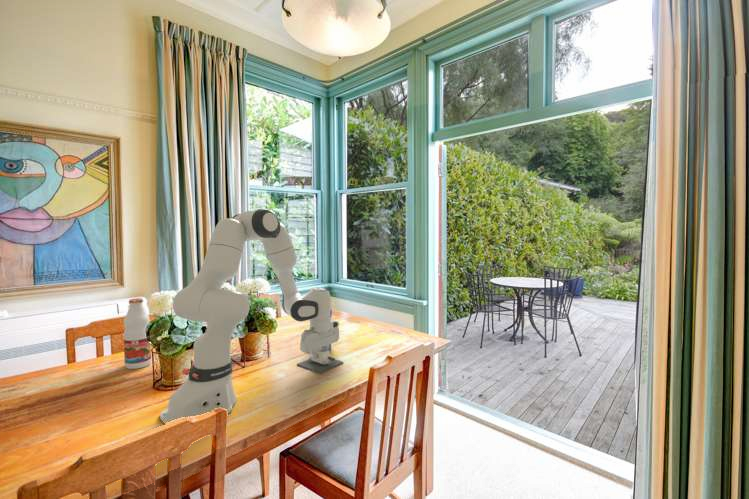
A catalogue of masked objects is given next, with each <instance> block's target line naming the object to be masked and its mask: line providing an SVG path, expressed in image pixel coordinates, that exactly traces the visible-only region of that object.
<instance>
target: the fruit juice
mask: <svg viewBox="0 0 749 499" xmlns="http://www.w3.org/2000/svg"><path fill="white" fill-rule="evenodd" d="M143 304H144V299H143V298H139V297H138V298H132V299H129V300H128V305H129V306H128V309H127V313H126V314H125V316H124V318H123V327H124V332H123V352H124V367H125V369H128V370H137V369H141V368H145V367H148V366H150V365H151V363H152V344H151V345H150V344H149V343H147V342H146V335H145V328H146V326H147V325H148V324H150V315H149V314H148V313H147V311H146V310H145V306H143Z"/></svg>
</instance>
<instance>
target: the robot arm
mask: <svg viewBox="0 0 749 499" xmlns="http://www.w3.org/2000/svg"><path fill="white" fill-rule="evenodd" d="M258 240H259V242H261V244H262V245H263V248H264V252H265V255H266V258H267V260H268V262H269V264H270V266H271V268H272V269H273V271H274V274H275V275H276V276H277V281H278V283H279V287H280V290H281V292H282V300H281V304H282V305H281V306H282V310H283V312H284V313H286V314H287V315H288V316H289V317H291V318H292V319H294V320H295V321H297V322H305V321H309V328H308V329H305V330H304V331H303V332H302V333H301V337H300V345H299V347H300V348H299V350H300V351H301V353H304V354H305V353H306V354H308V352H311V353H312V354H313V359H318V354H316V352H317V349H319V348H321V347H324V346H325V347H324V349H329V344H331V345H332V344H334V343H337V342H338V341H339V339H340V328H339V327H340V326H339V325H340V322H339V321H337V320H333V319H332V317H331V316H330V310H331V309H332V300H331V293H330V291H329V290H328V289H326V288H324V287H312V288H311V289H310V290H309V291H307V292H306V293H304V294H302V293H300V291H299V290H298V288H297V285H296V281H295V278H294V275H293V270H294V268H295V265H296V263H297V253H296V250H295V247H294V244H293V241H292V239H291V237H290V234H289V232H288V230H287V228H286V227H285V225H284V224H282V223H281V222H280V219H279V217H278V215H277V214H276V212H274V211H273V210H271V209H268V208H258V209H253V210H247V211H243V212H241V213H237V214H236V215H234V216H233V217H231V218H223V219H221V220H219V221H218V222H217V224H216V225H215V227H214V229H213V232H212V235H211V237H210V240H209V243H208V246H207V250H206V252H205V257H204V260H203V263H202V265H201V268H200V270H199V271H198V273H197V274H196V276H195V277H194V279H193V280H192V281H191V282H190V283H189V284H188V285H186V286H185V287H184V288H182V289H181V290H179V291H178V292H177V293H176V294H175V295H174V297H173V300H172V310H173V312H174V314H175V315H176V316H177V317H179V318H181V319H185V320H188V321H190V322H191V321H192V322H202V323H206V331H205V332H204V333H202V334H200V335H199V336H198V337H197V338H196V339H195V341H194V343H193V365H192V367H191V369H190V368H188V367H187V366H185V367H184V368H182V370H181V373H182V374H183V375H185V376H188V378H187V379H186V380H185V381H184V382H183V383H182V384H181V385H180V386H179V387H178V388H177V389H176V390H175V391H173V393H172V394H171V395H170V396H169V399H168V406H167V408H165V409H163V410H162V411H160V414H159V416H160V417H159V418H160V421H161V420H162V421H164V422H165V423H166V422H170V421H172V420H175V419H178V418H181V417H188V416H189V417H190V416H196V415H201V414H204V413H207V412H211V411H212V410H214V409H215V408H219V407H221V408H225V409H227V411H228V413H227V414H230V413H231V412H232V411H233V406H234V405H235V404H236V403H237V396H236V394H235V390H234V386H233V377H232V375H233V360H232V359H231V349H232V348H231V347H232V346H231V345H232V344H231V343H232V336H233V334H234V331H235V329H236V327H237V326H238V325H239V324H240V323H242V322H243V321H244V320H245V319H246V318H247V316H248V315H249V312H250V307H251V306H250V300H249V298H248V297H247V295H246V294H245V293H243V292H240V291H237V290H233V289H224V288H223V289H222V286H223V285H224V284H225V283H226V282H227V281H229V280H230V279H233V278H234V277H236V275H237V273H238V271H239V268H240V264H241V258H242V255H243V250H244V245H245V242H249V241H258ZM162 421H161V422H162Z"/></svg>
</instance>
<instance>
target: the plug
mask: <svg viewBox="0 0 749 499" xmlns="http://www.w3.org/2000/svg"><path fill="white" fill-rule="evenodd" d="M307 354H308V355H310V358H311V360H312V361H315V362H318V363H320V364H329V363H330V360H332V361H334V360H335V359H336V358H334V357H331V350H328V349H324V348H319V349H317V352H316V354H318V359H313V354H312V353H311V352H308V353H307Z"/></svg>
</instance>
